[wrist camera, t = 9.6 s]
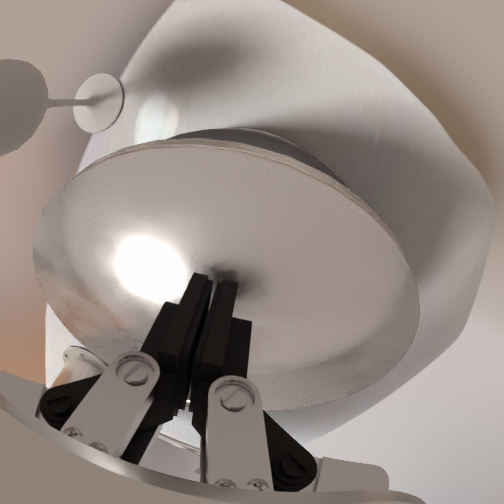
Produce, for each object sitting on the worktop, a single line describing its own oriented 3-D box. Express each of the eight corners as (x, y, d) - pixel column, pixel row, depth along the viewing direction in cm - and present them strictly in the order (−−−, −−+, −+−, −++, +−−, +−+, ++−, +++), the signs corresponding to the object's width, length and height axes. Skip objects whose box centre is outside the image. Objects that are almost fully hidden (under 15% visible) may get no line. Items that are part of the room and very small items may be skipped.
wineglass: (133, 75, 23) (-34, 54, 4) (114, 140, 26) (-50, 192, 7) (83, 69, 22) (-68, 68, 3) (67, 129, 25) (-80, 171, 6)
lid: (311, 410, 26) (310, 440, 23) (101, 363, 25) (90, 391, 22) (490, 227, 9) (527, 284, 6) (11, 125, 8) (-42, 161, 5)
